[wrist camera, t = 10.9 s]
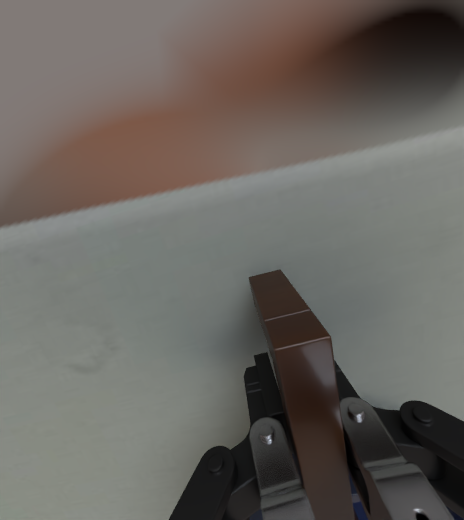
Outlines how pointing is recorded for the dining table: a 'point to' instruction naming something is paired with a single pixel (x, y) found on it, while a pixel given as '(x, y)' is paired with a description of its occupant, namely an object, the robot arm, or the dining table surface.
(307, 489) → the ladle
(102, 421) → the dining table surface
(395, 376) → the dining table surface
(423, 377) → the dining table surface
